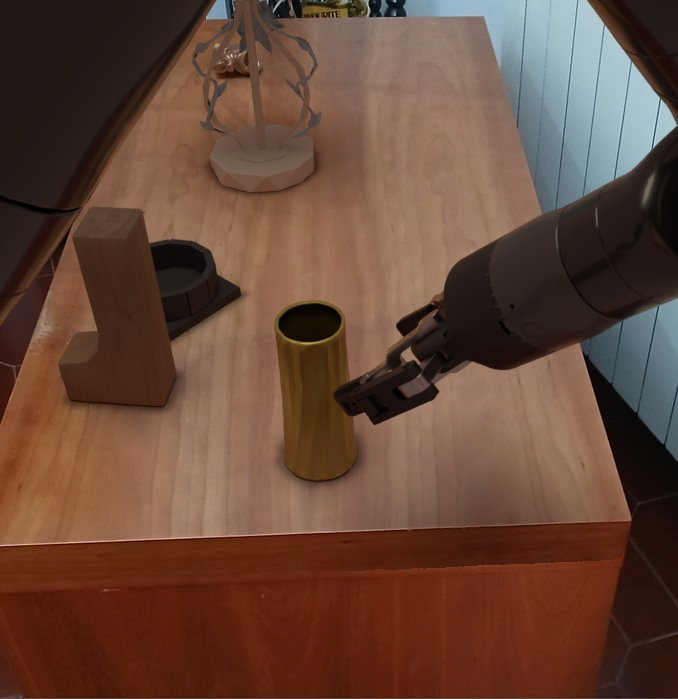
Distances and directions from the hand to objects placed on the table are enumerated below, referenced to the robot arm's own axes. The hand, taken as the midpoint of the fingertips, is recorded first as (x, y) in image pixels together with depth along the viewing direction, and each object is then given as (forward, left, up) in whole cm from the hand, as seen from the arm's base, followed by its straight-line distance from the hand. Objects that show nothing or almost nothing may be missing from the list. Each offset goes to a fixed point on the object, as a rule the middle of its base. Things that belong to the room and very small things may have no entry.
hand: (375, 367), depth 66 cm
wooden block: (-7, +25, -12) cm, 28 cm away
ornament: (+45, +66, -12) cm, 81 cm away
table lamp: (+29, +43, -12) cm, 54 cm away
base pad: (+5, +31, -12) cm, 34 cm away
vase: (-1, +5, -12) cm, 14 cm away
